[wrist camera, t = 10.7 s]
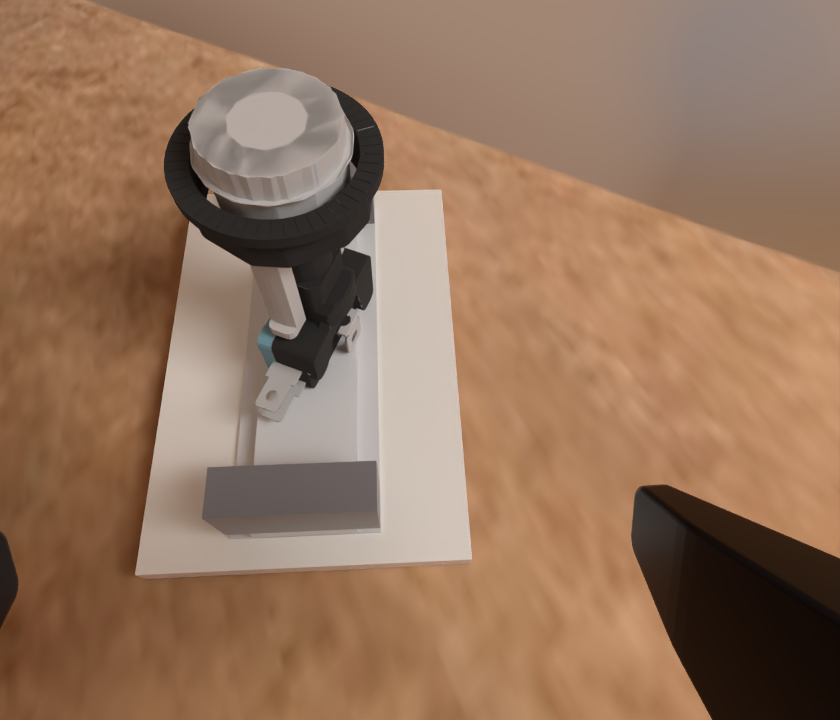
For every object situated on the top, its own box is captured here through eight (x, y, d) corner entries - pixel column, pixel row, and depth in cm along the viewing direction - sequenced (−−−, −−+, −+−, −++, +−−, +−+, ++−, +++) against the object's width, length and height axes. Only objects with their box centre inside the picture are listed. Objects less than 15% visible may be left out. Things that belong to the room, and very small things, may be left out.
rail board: (468, 563, 21) (483, 541, 17) (146, 578, 21) (87, 559, 17) (440, 204, 28) (445, 132, 24) (200, 209, 28) (167, 136, 24)
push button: (340, 450, 21) (293, 291, 12) (204, 398, 22) (63, 211, 13) (411, 298, 24) (416, 77, 15) (288, 256, 24) (222, 22, 15)
